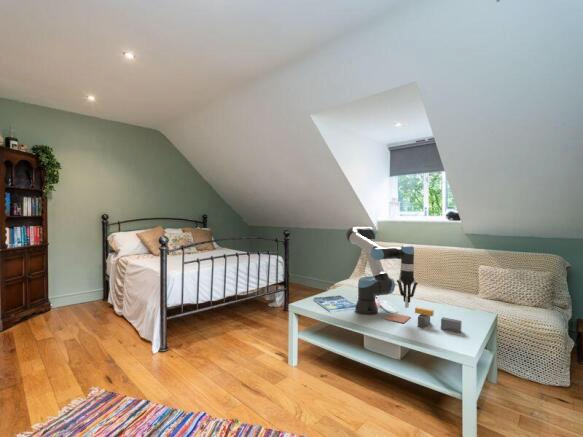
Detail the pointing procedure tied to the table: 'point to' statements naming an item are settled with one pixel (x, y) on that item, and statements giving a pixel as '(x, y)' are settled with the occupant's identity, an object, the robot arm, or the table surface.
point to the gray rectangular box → (451, 325)
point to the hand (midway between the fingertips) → (406, 307)
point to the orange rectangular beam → (424, 311)
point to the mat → (397, 318)
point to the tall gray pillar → (423, 320)
